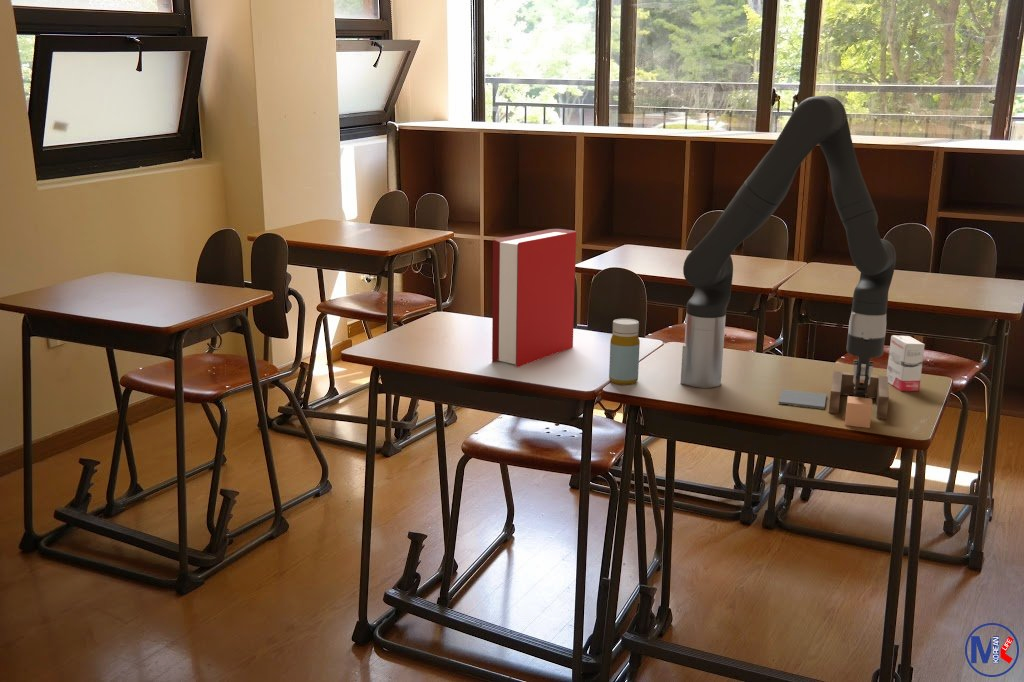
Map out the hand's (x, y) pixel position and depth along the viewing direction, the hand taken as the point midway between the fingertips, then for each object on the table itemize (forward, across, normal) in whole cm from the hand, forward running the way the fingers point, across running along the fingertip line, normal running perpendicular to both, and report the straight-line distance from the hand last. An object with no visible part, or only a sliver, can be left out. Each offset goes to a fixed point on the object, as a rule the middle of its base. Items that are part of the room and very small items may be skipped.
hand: (858, 409), depth 212 cm
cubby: (+2, -8, 0) cm, 9 cm away
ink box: (+2, -28, +10) cm, 30 cm away
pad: (+2, -7, -12) cm, 14 cm away
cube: (+2, +5, 0) cm, 5 cm away
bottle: (+2, -6, -54) cm, 54 cm away
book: (+2, -22, -82) cm, 85 cm away
